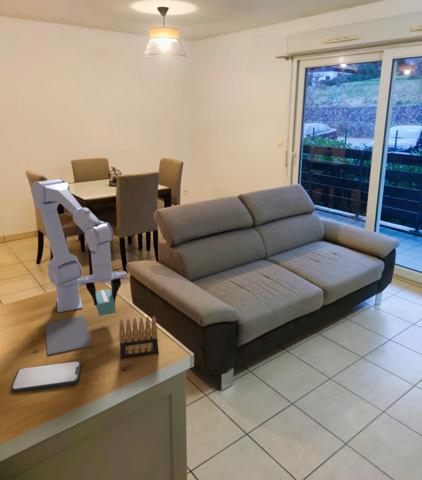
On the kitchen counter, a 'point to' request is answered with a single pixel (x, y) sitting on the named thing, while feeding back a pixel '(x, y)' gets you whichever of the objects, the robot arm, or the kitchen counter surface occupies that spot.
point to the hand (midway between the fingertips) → (104, 302)
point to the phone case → (46, 377)
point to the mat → (67, 335)
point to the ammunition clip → (138, 339)
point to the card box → (105, 302)
